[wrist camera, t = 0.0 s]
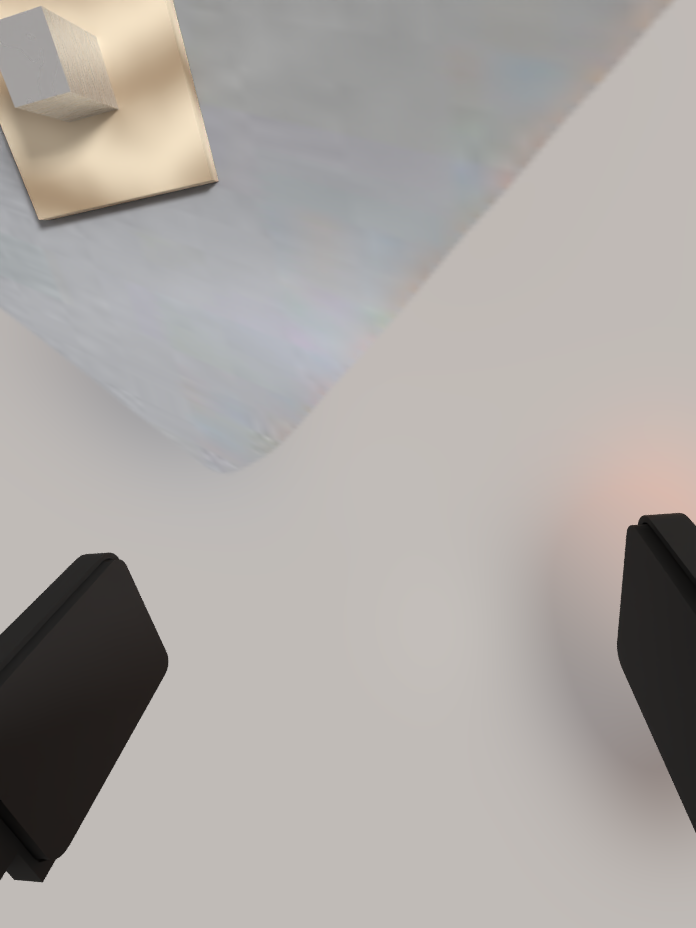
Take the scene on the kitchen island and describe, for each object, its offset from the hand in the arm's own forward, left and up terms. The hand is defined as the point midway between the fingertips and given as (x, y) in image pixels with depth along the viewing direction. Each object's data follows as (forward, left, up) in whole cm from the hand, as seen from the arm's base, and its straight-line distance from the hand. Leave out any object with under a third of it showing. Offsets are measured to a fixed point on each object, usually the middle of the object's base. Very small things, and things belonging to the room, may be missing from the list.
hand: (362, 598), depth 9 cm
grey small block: (-18, -19, -30) cm, 40 cm away
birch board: (-18, -19, -31) cm, 41 cm away
